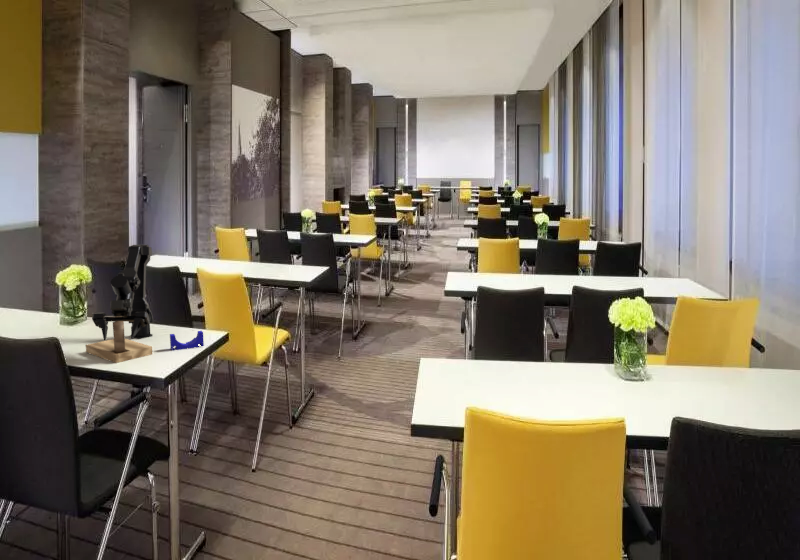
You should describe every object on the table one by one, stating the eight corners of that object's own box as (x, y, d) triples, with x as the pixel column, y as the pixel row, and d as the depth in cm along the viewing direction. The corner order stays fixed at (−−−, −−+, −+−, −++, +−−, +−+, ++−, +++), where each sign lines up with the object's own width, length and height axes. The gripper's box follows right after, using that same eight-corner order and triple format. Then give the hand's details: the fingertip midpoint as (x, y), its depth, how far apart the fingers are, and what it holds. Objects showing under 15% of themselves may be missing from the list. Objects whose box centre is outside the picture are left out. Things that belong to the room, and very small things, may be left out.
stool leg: (120, 357, 215) (117, 320, 212) (128, 358, 214) (125, 321, 211) (112, 359, 211) (110, 322, 209) (121, 360, 210) (118, 323, 208)
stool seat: (121, 344, 231) (121, 337, 231) (152, 354, 219) (151, 346, 218) (86, 352, 220) (85, 344, 219) (116, 363, 208) (115, 354, 207)
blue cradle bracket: (201, 344, 234) (200, 329, 233) (203, 347, 230) (203, 332, 229) (170, 348, 228) (169, 333, 227) (171, 350, 224) (171, 336, 223)
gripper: (91, 291, 210) (83, 328, 201) (146, 290, 214) (140, 326, 205) (99, 308, 219) (92, 344, 210) (152, 306, 223) (147, 342, 214)
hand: (118, 338), depth 210 cm, fingers open, 9 cm apart
